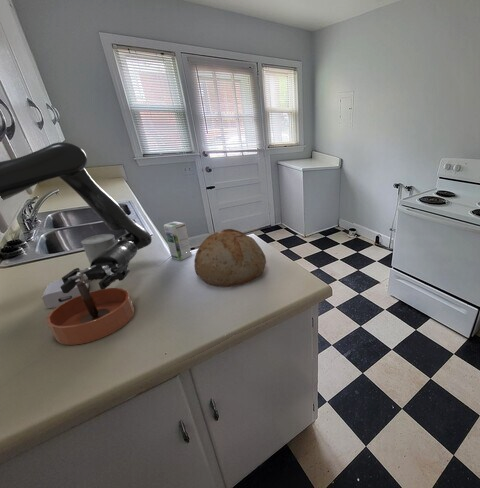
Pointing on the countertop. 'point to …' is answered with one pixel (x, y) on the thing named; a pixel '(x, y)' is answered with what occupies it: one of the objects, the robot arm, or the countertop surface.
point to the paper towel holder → (89, 304)
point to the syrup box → (177, 240)
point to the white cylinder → (97, 245)
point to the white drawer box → (58, 294)
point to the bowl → (73, 332)
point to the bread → (229, 259)
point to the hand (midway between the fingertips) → (82, 288)
